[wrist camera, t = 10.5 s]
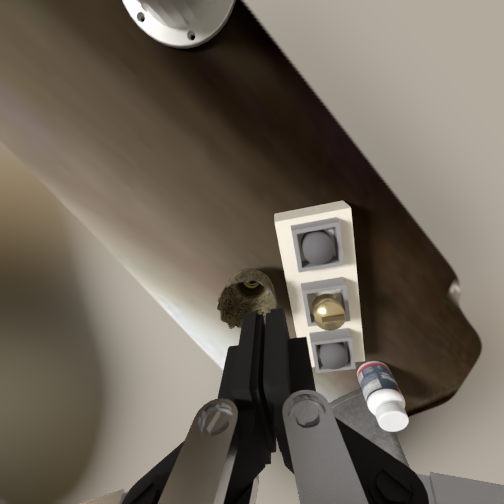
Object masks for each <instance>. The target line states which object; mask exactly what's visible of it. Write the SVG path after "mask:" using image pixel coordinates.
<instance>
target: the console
mask: <svg viewBox="0 0 504 504" xmlns="http://www.w3.org/2000/svg"><path fill="white" fill-rule="evenodd" d="M274 219H275V227H276V232H277V237H278V242H279V248H280V253H281V258H282V263H283V268H284V273H285V279H286V284H287V289H288V294H289V299H290V304H291V310H292V315H293V320H294V325H295V330H296V335H297V338H300V337H306V338H307V343H308V349H309V354H310V360H311V366H312V367H315V369H316V373H321V372H330V371H340V370H349V369H356V368H355V362H361V361H365V356H364V345H363V334H362V323H361V312H360V301H359V289H358V278H357V267H356V256H355V245H354V234H353V223H352V212H351V207H350V206H349V205H348V204H346V203H345V202H344V201H338V202H333V203H328V204H323V205H318V206H313V207H307V208H302V209H297V210H292V211H287V212H282V213H277V214H274ZM321 229H323V230H325V231H326V232H327V233H328V234H329V235H330V237H331V239H332V240H333V242H334V244H335V254H334V256H333V257H332V259H331V260H330V261H328V262H326V263H324V264H313V263H310V262H309V261H308V260H307V259H306V258H305V256H304V253H303V250H302V246H301V240H302V237H303V235H304V234H305V233H306V232H310V231H316V230H321ZM322 294H333V295H335V296H337V297H338V298H339V300H340V302H341V304H342V307H343V309H344V311H345V314H346V320H345V323H344V324H343V325H342V326H341V327H340V328H338V329H336V330H332V331H328V330H323V329H321V328H320V327H318V325H317V324H316V322H315V318H314V314H313V309H312V303H313V301H314V299H315V298H316V297H318V296H319V295H322ZM335 342H343V343H344V346H345V349H346V352H347V355H348V362H347V364H346V365H345V366H344V367H342V368H340V369H328V368H326V367H325V366H323V364H322V363H321V359H320V354H319V349H318V345H319V344H327V343H335Z"/></svg>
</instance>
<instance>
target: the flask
mask: <svg viewBox="0 0 504 504" xmlns="http://www.w3.org/2000/svg"><path fill="white" fill-rule="evenodd" d="M329 404H330V407H331V409H332V412H333V415H334V417H336V418H337V419H339V420H340V421H342V422H343V423H345V424H346V425H348V426H349V427H351V428H352V429H354V430H355V431H356V432H358V433H359V434H361V435H362V436H364V437H365V438H367V439H368V440H370V441H371V442H373V443H374V444H376V445H377V446H379V447H380V448H381V449H383V450H384V451H386V452H387V453H389V454H390V455H392V456H393V457H395V458H396V459H398V460H399V461H401V462H402V463H404V464H405V465H406V466H408V467H409V465H408V463H407V460H406V458H405V456H404V453H403V451H402V448H401V446H400V443H399V441H398V439H397V436H396V434H395V432H389V431H385V430H383V429H382V428H381V427H380V426H379V424H378V421H377V419H376V416H375V415H374V414H372V413H371V411H370V410H369V408H368V406H367V403H366V400H365V397H364V395H363V392H362V389H358V390H355V391H353V392H351V393H348V394H346V395H344V396H342V397H340V398H338V399H336V400H334V401H332V402H331V403H329ZM409 468H410V467H409Z"/></svg>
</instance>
